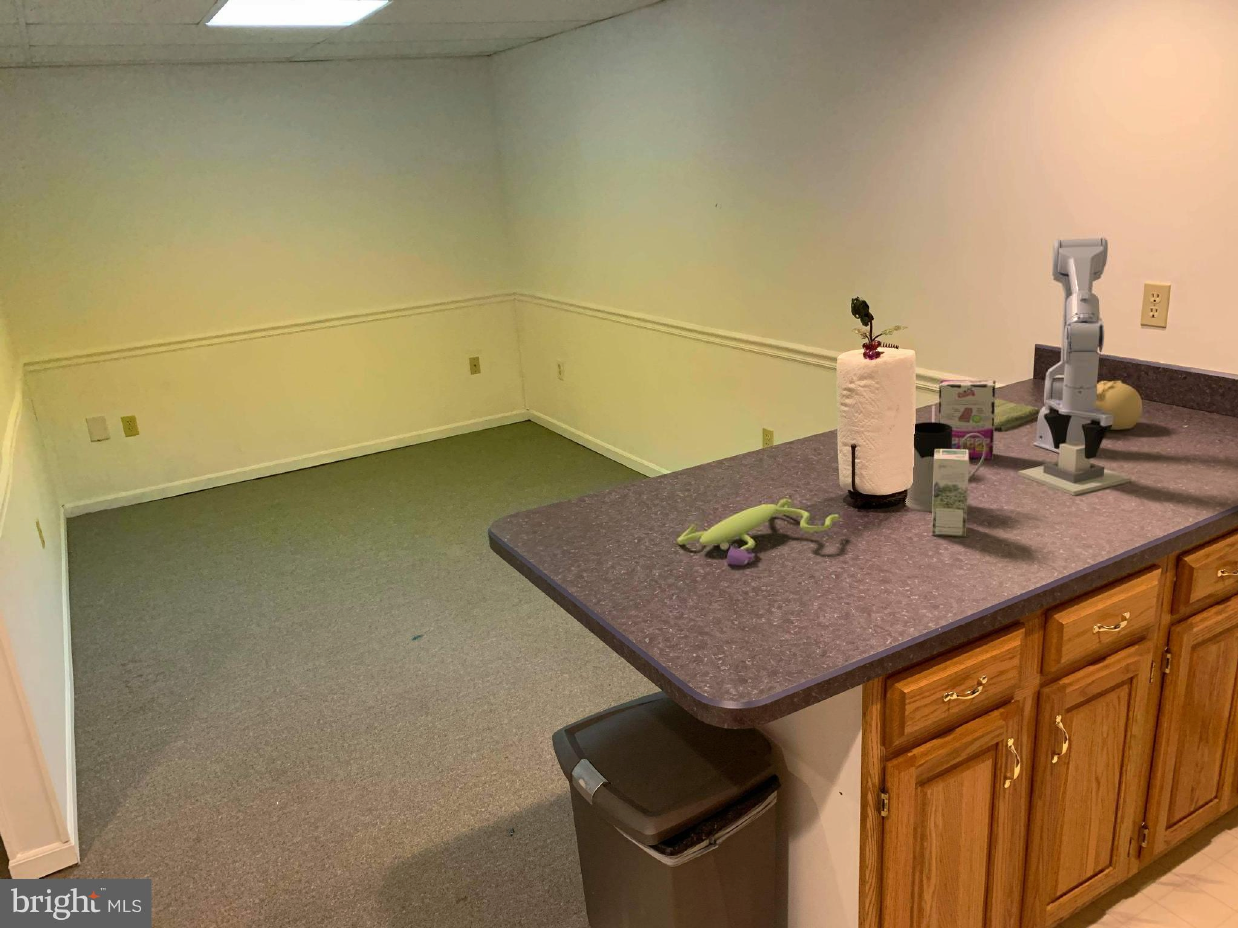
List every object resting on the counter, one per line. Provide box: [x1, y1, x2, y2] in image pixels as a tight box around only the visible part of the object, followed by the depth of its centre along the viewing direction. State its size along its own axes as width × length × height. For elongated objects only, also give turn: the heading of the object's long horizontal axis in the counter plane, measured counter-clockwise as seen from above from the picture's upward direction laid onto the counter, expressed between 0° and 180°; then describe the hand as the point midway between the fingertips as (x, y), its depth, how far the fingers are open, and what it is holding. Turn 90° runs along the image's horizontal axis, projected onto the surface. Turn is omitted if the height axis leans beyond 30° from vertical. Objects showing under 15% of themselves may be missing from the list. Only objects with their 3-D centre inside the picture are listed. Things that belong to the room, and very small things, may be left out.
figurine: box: [677, 498, 840, 566], centre depth 167 cm, size 18×27×6 cm
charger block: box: [1058, 441, 1092, 472], centre depth 183 cm, size 4×4×6 cm
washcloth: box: [994, 398, 1041, 432], centre depth 225 cm, size 13×18×3 cm
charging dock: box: [1017, 460, 1131, 496], centre depth 184 cm, size 14×14×3 cm
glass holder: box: [904, 421, 987, 513], centre depth 175 cm, size 9×14×15 cm, turn 78°
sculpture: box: [1087, 380, 1143, 431], centre depth 211 cm, size 12×12×11 cm
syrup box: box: [931, 449, 970, 538], centre depth 163 cm, size 6×6×14 cm
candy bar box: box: [938, 379, 996, 460], centre depth 200 cm, size 11×5×16 cm, turn 68°
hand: (1074, 452), depth 183 cm, fingers open, 7 cm apart
